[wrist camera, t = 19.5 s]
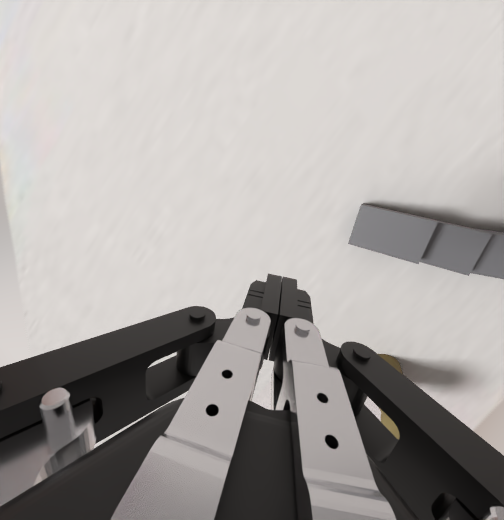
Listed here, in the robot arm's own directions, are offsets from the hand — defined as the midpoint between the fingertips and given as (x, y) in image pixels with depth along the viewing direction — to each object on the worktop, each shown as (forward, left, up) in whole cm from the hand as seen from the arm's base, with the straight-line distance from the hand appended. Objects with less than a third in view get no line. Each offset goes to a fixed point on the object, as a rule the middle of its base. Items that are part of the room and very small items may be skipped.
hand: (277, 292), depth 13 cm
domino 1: (0, -9, -21) cm, 23 cm away
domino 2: (0, -14, -21) cm, 26 cm away
